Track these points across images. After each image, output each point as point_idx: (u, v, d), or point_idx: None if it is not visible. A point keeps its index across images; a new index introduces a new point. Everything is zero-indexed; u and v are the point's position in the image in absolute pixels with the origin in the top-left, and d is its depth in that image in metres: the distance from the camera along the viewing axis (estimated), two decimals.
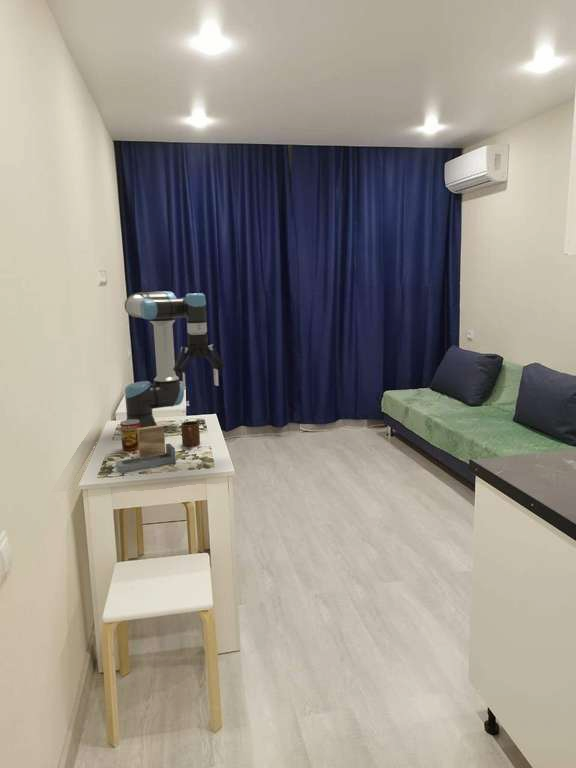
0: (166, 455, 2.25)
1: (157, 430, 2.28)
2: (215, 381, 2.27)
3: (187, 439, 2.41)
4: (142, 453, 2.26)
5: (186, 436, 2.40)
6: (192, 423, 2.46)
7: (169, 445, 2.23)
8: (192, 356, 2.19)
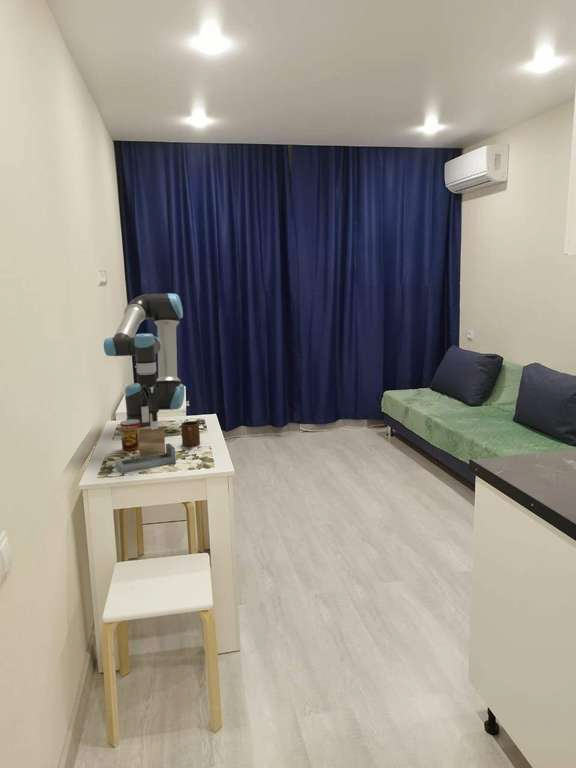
0: (166, 455, 2.25)
1: (157, 430, 2.28)
2: None
3: (187, 439, 2.41)
4: (142, 453, 2.26)
5: (186, 436, 2.40)
6: (192, 423, 2.46)
7: (169, 445, 2.23)
8: (141, 393, 2.27)
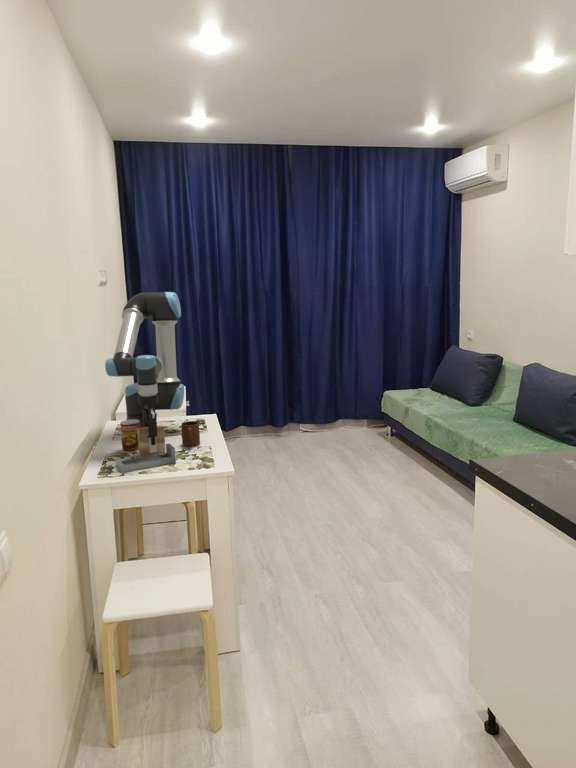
0: (166, 455, 2.25)
1: (157, 430, 2.28)
2: None
3: (187, 439, 2.41)
4: (142, 453, 2.26)
5: (186, 436, 2.40)
6: (192, 423, 2.46)
7: (169, 445, 2.23)
8: (144, 416, 2.28)
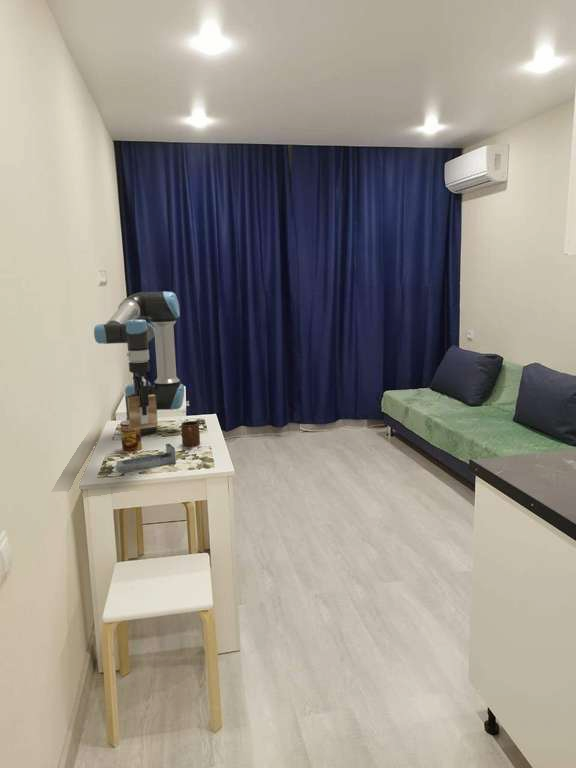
0: (166, 455, 2.25)
1: None
2: None
3: (187, 439, 2.41)
4: (132, 424, 2.13)
5: (186, 436, 2.40)
6: (192, 423, 2.46)
7: (169, 445, 2.23)
8: (135, 385, 2.14)
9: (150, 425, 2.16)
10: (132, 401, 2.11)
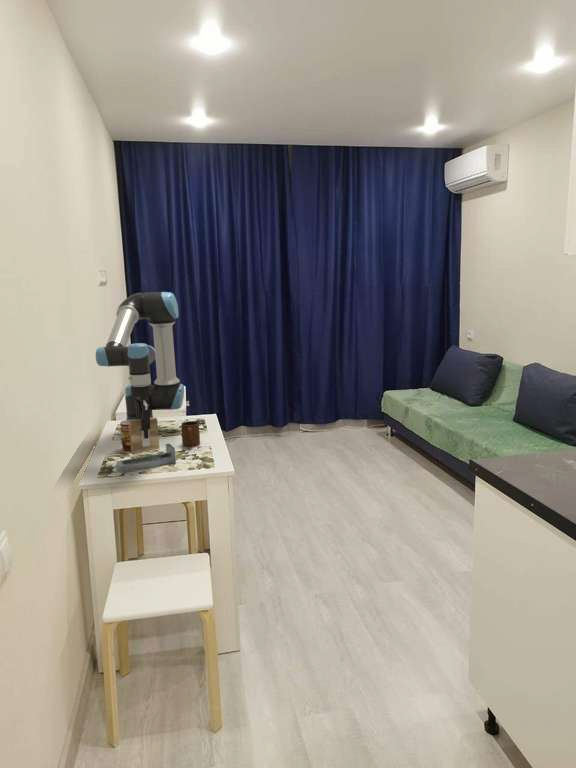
0: (166, 455, 2.25)
1: (150, 422, 2.16)
2: None
3: (187, 439, 2.41)
4: (134, 447, 2.14)
5: (186, 436, 2.40)
6: (192, 423, 2.46)
7: (169, 445, 2.23)
8: (136, 408, 2.16)
9: (152, 448, 2.17)
10: (134, 424, 2.13)
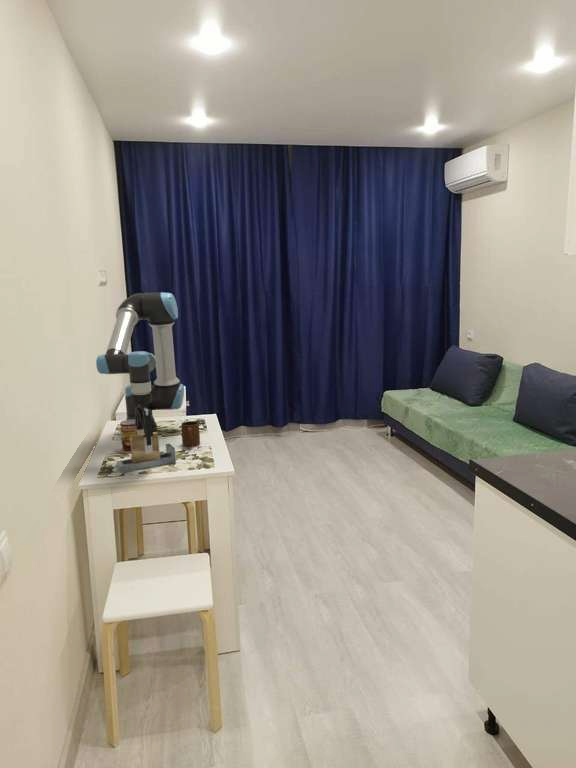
0: (166, 455, 2.25)
1: None
2: None
3: (187, 439, 2.41)
4: (135, 462, 2.16)
5: (186, 436, 2.40)
6: (192, 423, 2.46)
7: (169, 445, 2.23)
8: (136, 414, 2.17)
9: None
10: (135, 439, 2.14)
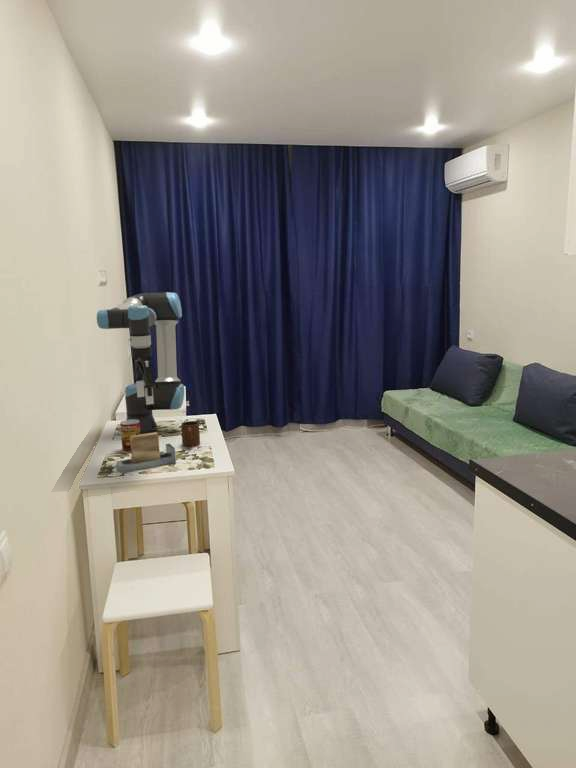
0: (166, 455, 2.25)
1: (151, 438, 2.17)
2: None
3: (187, 439, 2.41)
4: (135, 462, 2.16)
5: (186, 436, 2.40)
6: (192, 423, 2.46)
7: (169, 445, 2.23)
8: (136, 367, 2.20)
9: None
10: (135, 440, 2.14)
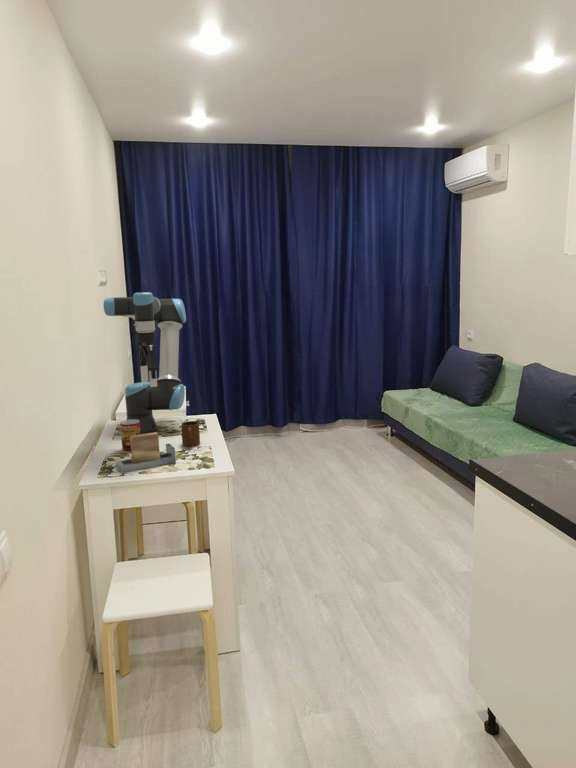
0: (166, 455, 2.25)
1: (151, 438, 2.17)
2: None
3: (187, 439, 2.41)
4: (135, 462, 2.16)
5: (186, 436, 2.40)
6: (192, 423, 2.46)
7: (169, 445, 2.23)
8: (140, 352, 2.29)
9: None
10: (135, 440, 2.14)
